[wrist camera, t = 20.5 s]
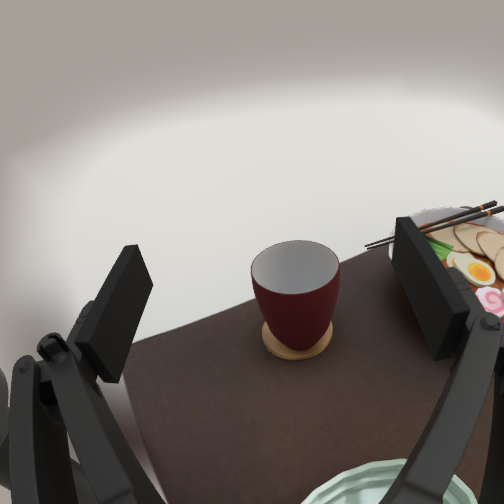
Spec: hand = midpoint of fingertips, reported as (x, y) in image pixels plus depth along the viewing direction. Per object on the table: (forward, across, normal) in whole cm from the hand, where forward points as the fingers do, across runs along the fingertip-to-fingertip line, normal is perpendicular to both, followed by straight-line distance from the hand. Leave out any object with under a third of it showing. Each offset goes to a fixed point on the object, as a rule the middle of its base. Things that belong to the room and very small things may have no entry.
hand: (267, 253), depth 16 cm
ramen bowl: (+13, +24, -19) cm, 33 cm away
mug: (+11, +1, -19) cm, 22 cm away
